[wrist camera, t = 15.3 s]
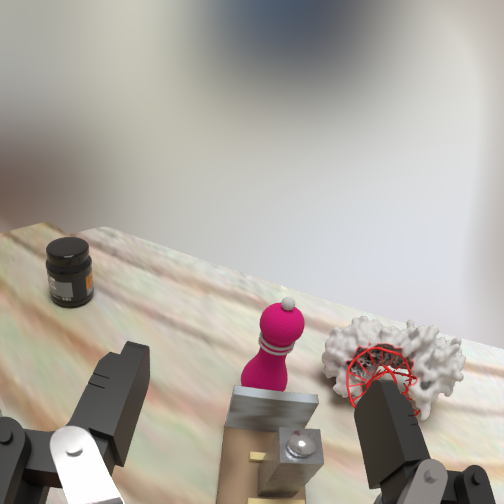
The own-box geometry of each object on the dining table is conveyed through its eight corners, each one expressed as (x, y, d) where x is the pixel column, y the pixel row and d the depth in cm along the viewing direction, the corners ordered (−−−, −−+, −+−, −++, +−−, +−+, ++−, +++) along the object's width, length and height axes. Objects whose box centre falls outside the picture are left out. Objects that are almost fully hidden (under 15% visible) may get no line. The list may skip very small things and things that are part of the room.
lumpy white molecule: (342, 459, 44) (473, 414, 37) (315, 411, 37) (485, 349, 31) (333, 381, 62) (440, 343, 55) (308, 321, 55) (435, 276, 48)
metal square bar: (257, 496, 29) (282, 458, 24) (257, 467, 33) (281, 422, 28) (292, 497, 29) (327, 459, 24) (291, 469, 33) (322, 424, 28)
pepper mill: (273, 418, 43) (312, 322, 35) (230, 403, 45) (254, 303, 37) (284, 388, 50) (320, 293, 42) (245, 375, 51) (270, 277, 43)
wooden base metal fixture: (210, 559, 21) (219, 551, 16) (224, 425, 41) (234, 385, 37) (303, 562, 21) (337, 550, 17) (296, 433, 41) (317, 394, 37)
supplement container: (98, 284, 66) (96, 237, 61) (88, 311, 56) (83, 260, 52) (58, 280, 63) (54, 234, 58) (44, 306, 54) (36, 255, 49)
